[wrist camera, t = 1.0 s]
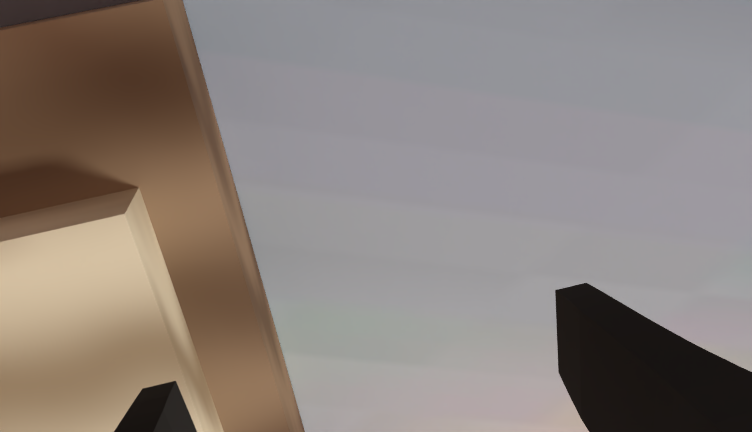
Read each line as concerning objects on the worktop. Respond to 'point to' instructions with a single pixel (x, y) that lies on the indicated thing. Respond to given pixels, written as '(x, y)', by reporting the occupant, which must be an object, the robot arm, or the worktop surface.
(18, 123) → the butcher block
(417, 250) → the worktop surface
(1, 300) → the tile
